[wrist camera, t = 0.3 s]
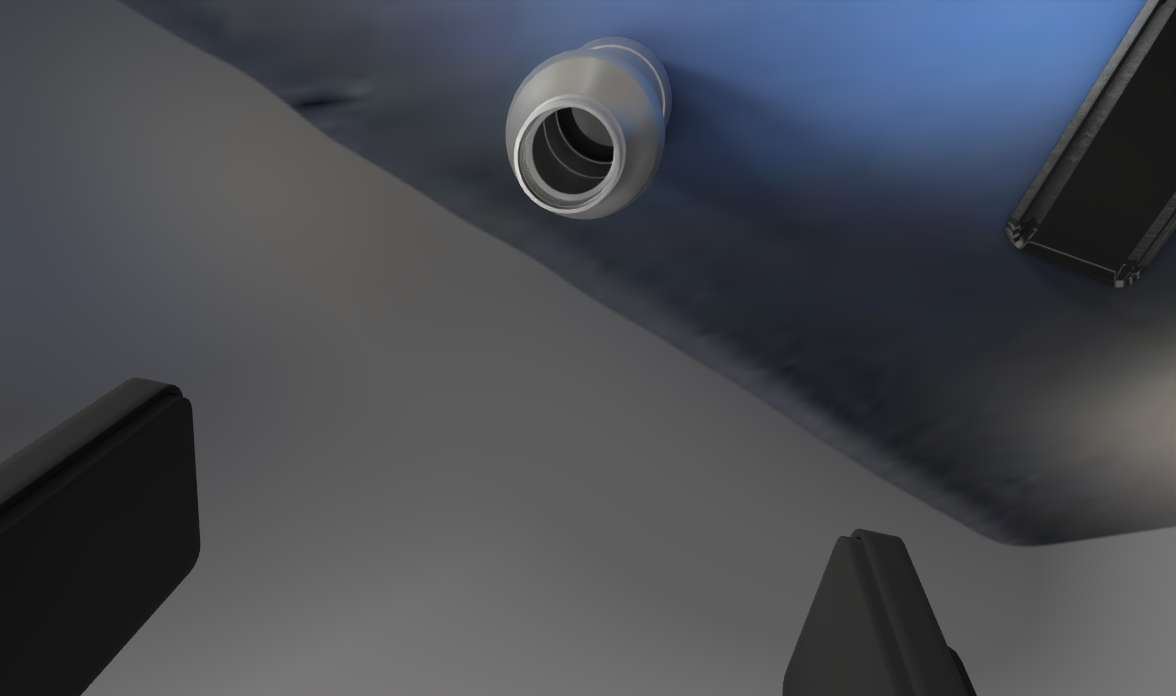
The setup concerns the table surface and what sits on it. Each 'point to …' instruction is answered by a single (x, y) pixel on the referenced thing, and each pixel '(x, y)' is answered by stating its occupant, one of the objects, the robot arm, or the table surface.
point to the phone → (1112, 165)
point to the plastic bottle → (590, 127)
